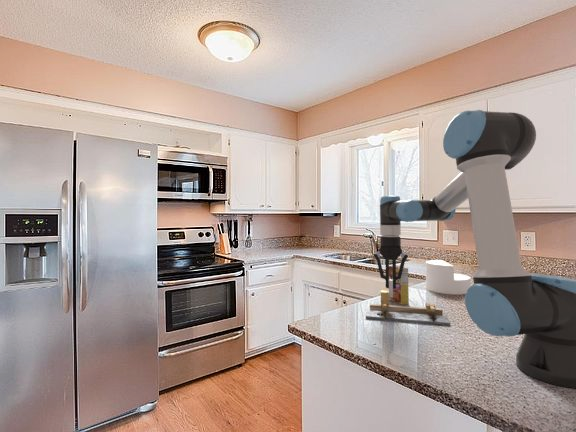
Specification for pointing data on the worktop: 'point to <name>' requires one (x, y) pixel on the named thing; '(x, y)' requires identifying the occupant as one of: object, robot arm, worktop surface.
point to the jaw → (384, 300)
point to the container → (445, 278)
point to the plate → (408, 317)
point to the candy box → (400, 286)
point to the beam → (411, 309)
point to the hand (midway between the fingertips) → (390, 296)
